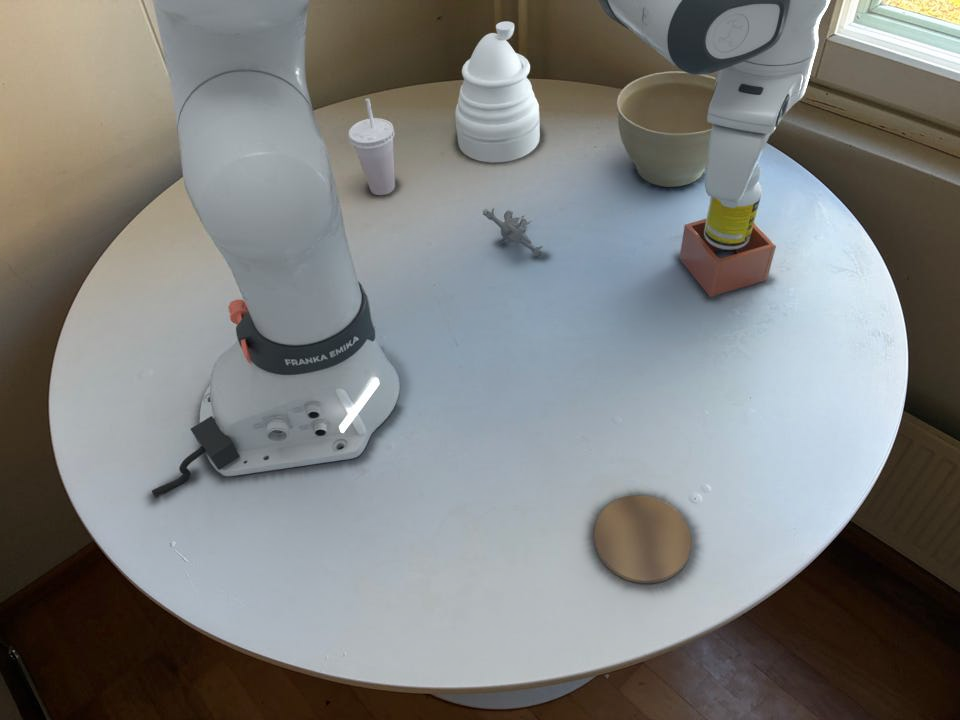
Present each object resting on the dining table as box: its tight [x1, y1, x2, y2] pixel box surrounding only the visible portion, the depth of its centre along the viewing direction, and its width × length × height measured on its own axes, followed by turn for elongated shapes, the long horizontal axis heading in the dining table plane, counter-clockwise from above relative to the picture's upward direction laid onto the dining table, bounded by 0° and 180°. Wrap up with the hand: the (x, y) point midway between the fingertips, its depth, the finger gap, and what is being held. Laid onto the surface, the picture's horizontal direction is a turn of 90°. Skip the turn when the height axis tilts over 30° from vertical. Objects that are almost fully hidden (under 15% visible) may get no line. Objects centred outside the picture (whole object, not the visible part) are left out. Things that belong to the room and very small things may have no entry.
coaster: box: [593, 494, 692, 584], centre depth 72 cm, size 9×9×1 cm
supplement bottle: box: [704, 162, 763, 251], centre depth 89 cm, size 5×5×10 cm
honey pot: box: [454, 21, 541, 163], centre depth 113 cm, size 13×13×18 cm
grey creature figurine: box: [482, 207, 545, 258], centre depth 101 cm, size 10×6×9 cm
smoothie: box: [348, 97, 396, 196], centre depth 108 cm, size 6×6×14 cm
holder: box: [679, 218, 777, 298], centre depth 94 cm, size 8×8×6 cm
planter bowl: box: [616, 70, 716, 188], centre depth 107 cm, size 16×16×11 cm
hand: (737, 187), depth 87 cm, fingers closed on supplement bottle, 5 cm apart
